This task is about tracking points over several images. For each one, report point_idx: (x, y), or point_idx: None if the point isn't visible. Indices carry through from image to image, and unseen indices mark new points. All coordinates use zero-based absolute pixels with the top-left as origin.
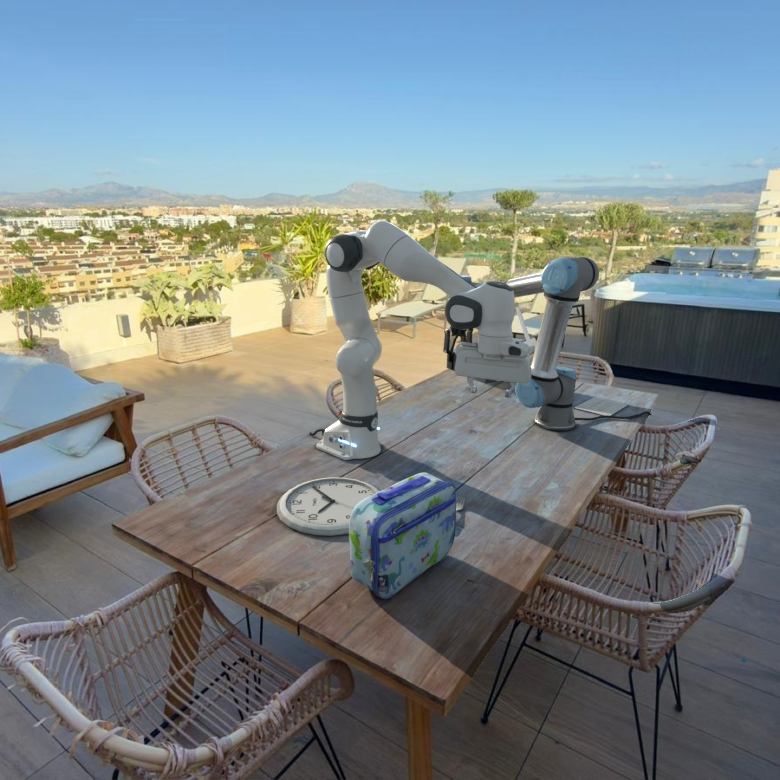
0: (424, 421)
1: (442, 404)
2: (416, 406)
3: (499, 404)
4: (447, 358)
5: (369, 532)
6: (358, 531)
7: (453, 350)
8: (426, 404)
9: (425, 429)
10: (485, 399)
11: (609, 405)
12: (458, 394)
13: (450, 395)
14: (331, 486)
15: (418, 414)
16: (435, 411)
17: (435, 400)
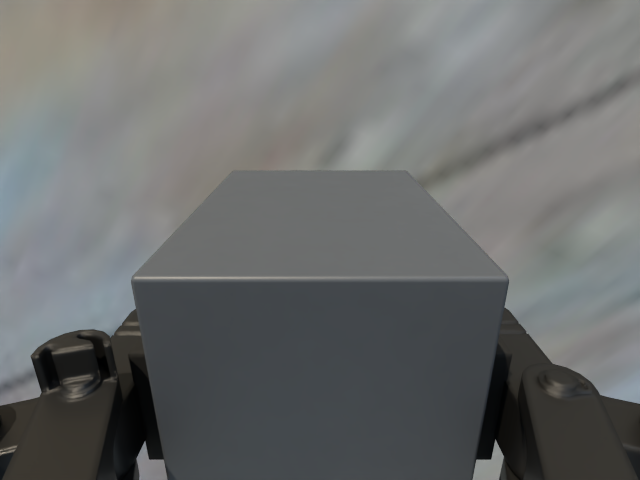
0: (29, 332)
1: (237, 161)
2: (64, 121)
3: (529, 299)
4: (121, 339)
5: None
6: None
7: (254, 381)
8: (141, 115)
9: (2, 403)
10: (534, 199)
11: None
12: (462, 24)
13: (396, 17)
14: None
15: (31, 243)
16: (141, 243)
17: (235, 70)
